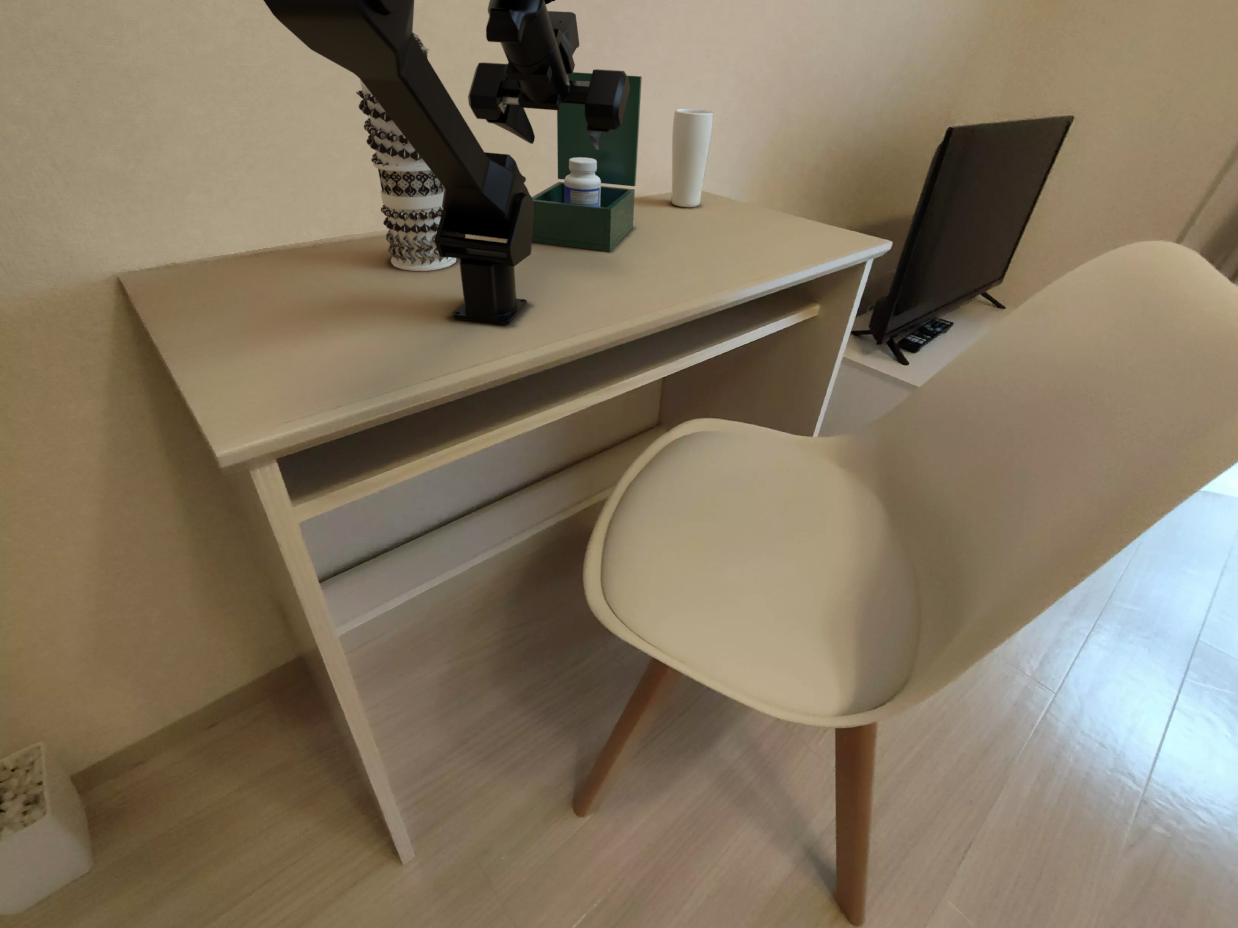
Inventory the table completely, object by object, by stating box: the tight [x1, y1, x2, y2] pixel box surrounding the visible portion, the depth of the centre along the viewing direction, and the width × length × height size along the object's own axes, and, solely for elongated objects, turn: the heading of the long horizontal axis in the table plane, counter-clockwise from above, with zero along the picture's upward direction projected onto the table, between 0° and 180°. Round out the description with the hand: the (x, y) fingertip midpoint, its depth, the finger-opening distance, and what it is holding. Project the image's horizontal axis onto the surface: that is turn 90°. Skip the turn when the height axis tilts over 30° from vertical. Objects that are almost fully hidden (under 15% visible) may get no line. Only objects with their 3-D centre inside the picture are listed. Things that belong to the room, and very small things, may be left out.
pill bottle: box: [563, 157, 602, 207], centre depth 91 cm, size 5×5×10 cm
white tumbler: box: [670, 108, 714, 208], centre depth 108 cm, size 7×7×15 cm
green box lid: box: [556, 71, 643, 187], centre depth 93 cm, size 14×13×4 cm
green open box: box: [531, 181, 636, 252], centre depth 92 cm, size 14×13×6 cm
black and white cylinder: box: [355, 32, 458, 272], centre depth 74 cm, size 9×9×25 cm
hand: (565, 143), depth 80 cm, fingers open, 9 cm apart
